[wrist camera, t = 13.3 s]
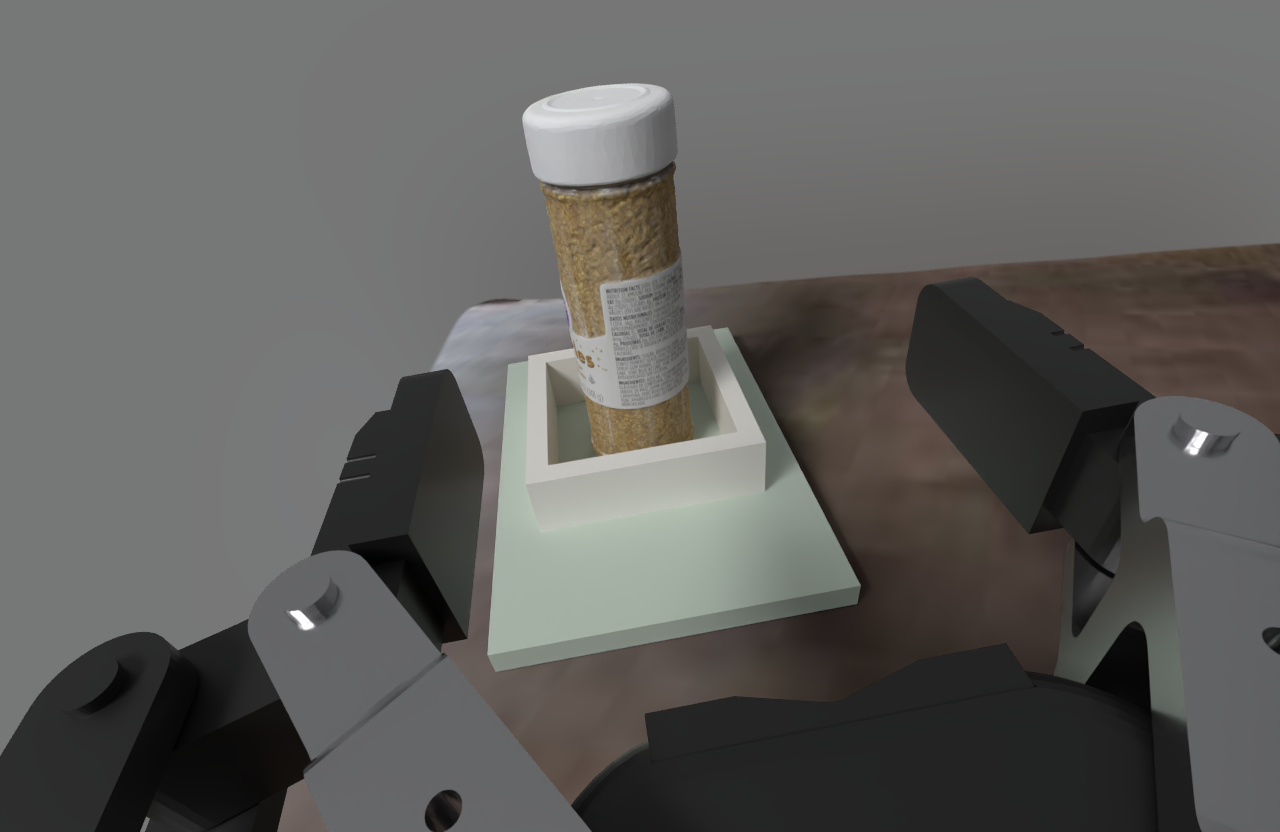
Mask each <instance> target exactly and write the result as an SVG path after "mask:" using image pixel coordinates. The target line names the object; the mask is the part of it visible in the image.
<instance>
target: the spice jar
mask: <svg viewBox="0 0 1280 832" xmlns="http://www.w3.org/2000/svg"><path fill="white" fill-rule="evenodd" d="M523 127H524V132H525V137H526V142H527V148H528V152H529V157H530V161H531V166H532V170H533V173H534V175H535V176H536V177H537V178H538V179H540V181H541V185H540V189H541V190H542V192H543V193H544V196H545V203H546V207H547V213H548V217H549V221H550V229H551V232H552V235H553V243H554V249H555V252H556V257H557V262H558V268H559V271H560V282H561V289H562V294H563V299H564V304H565V309H566V314H567V319H568V324H569V329H570V335H571V339H572V344H573V348H574V353H575V358H576V364H577V369H578V374H579V379H580V384H581V387H582V390H583V391H584V395H585V400H586V407H587V411H588V415H589V420H590V426H591V436H590V438H591V445H592V447H593V450H594V452H595V453H596V455H597V456H598V457H599V456H605V455H610V454H616V453H622V452H627V451H633V450H639V449H644V448H650V447H656V446H661V445H667V444H673V443H679V442H684V441H690V440H693V439H694V433H695V430H694V424H693V421H692V418H691V416H690V408H689V388H688V378H689V363H688V346H687V328H686V314H685V299H684V286H683V272H682V257H681V250H680V247H679V240H678V224H677V212H676V200H675V186H674V180H673V174H674V172H675V170H676V165H675V162H674V161H673V160H674V159H675V157H676V155H677V134H676V122H675V111H674V103H673V97H672V95H671V94H670V93H669V91H667V90H666V89H664V88H662V87H659V86H655V85H650V84H613V85H603V86H595V87H588V88H583V89H578V90H573V91H568V92H564V93H560V94H557V95H553V96H550V97H547V98H544V99H542V100H540V101H538V102H536V103H534V104H532V105H531V106H529V107H528V108H527V110H526V111H525V112H524V115H523Z"/></svg>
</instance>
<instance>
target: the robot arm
mask: <svg viewBox="0 0 1280 832" xmlns="http://www.w3.org/2000/svg"><path fill="white" fill-rule="evenodd" d="M906 377H907V382H908V385H909V388H910V390H911V392H912V394H913V396H914V397H915V398H916V399H917V401H918V402H919V403H920V404H921V405H922V407H923V408H924V409H925V410H926V411H927V413H928V414H929V415H930V416H931V417H932V419H933V420H934V421H935V422H936V423H937V425H938V426H939V427H940V428H941V429H942V431H943V432H944V433H945V434H946V435H947V437H948V438H949V439H950V440H951V441H952V443H953V444H954V445H955V446H956V447H957V449H958V450H959V451H960V452H961V453H962V455H963V456H964V457H965V458H966V460H967V461H968V462H969V463H970V464H971V466H972V467H973V468H974V469H975V470H976V472H977V473H978V474H979V475H980V476H981V478H982V479H983V480H984V481H985V482H986V484H987V485H988V486H989V487H990V488H991V490H992V491H993V492H994V493H995V494H996V496H997V497H998V498H999V499H1000V500H1001V502H1002V503H1003V504H1004V505H1005V506H1006V508H1007V509H1008V510H1009V511H1010V512H1011V514H1012V515H1013V516H1014V517H1015V518H1016V520H1017V521H1018V522H1019V523H1020V524H1021V526H1022V527H1023V528H1024V529H1025V530H1026V532H1027V533H1028V534H1033V533H1038V532H1043V531H1048V530H1054V529H1059V528H1064V529H1065V530H1066V531H1067V532H1068V533H1069V534H1070V535H1071V538H1070V540H1069V542H1068V544H1067V546H1066V548H1065V552H1064V565H1063V585H1062V604H1061V623H1060V642H1059V654H1058V659H1057V664H1056V668H1055V671H1054V674H1053V676H1052V675H1047V674H1041V673H1035V672H1028V671H1024V670H1023V668H1022V667H1021V665H1020V664H1019V662H1018V661H1017V659H1016V658H1015V656H1014V655H1013V653H1012V652H1011V650H1010V649H1009V647H1008V646H1007V644H1006V643H1005V644H999V645H994V646H989V647H984V648H979V649H974V650H969V651H964V652H958V653H953V654H948V655H943V656H938V657H933V658H928V659H923V660H918V661H916V662H914V663H912V664H910V665H908V666H907V667H905V668H903V669H901V670H899V671H897V672H895V673H893V674H891V675H889V676H887V677H886V678H884V679H882V680H880V681H878V682H876V683H874V684H872V685H870V686H868V687H866V688H865V689H863V690H861V691H859V692H857V693H855V694H853V695H851V696H849V697H847V698H845V699H843V700H840V701H837V702H812V701H797V700H782V699H767V698H752V697H738V696H733V697H728V698H723V699H718V700H713V701H708V702H703V703H698V704H692V705H687V706H682V707H677V708H672V709H667V710H662V711H657V712H651V713H646V714H645V721H646V728H647V735H648V741H646V742H644V743H642V744H640V745H638V746H636V747H635V748H633V749H631V750H629V751H628V752H626V753H625V754H624V755H622V756H621V757H619V758H618V759H616V760H615V761H613V762H612V763H611V764H610V765H609V766H607V767H606V768H605V769H604V770H603V771H602V772H601V773H600V774H598V775H597V776H596V777H595V778H594V779H593V780H592V781H591V782H590V783H589V785H588V786H587V787H586V788H585V789H584V790H583V791H582V792H581V794H580V795H579V796H578V797H577V798H576V800H575V801H574V802H573V804H572V805H571V806H570V804H569V803H568V802H567V801H566V800H565V798H564V797H563V796H562V795H561V793H560V792H559V791H558V790H557V789H556V787H555V786H554V785H553V784H552V782H551V781H550V780H549V779H548V777H547V776H546V775H545V774H544V773H543V771H542V770H541V769H540V768H539V766H538V765H537V764H536V763H535V762H534V760H533V759H532V758H531V757H530V755H529V754H528V753H527V752H526V751H525V749H524V748H523V747H522V746H521V744H520V743H519V742H518V741H517V740H516V738H515V737H514V736H513V735H512V733H511V732H510V731H509V730H508V728H507V727H506V726H505V725H504V724H503V722H502V721H501V720H500V719H499V717H498V716H497V715H496V714H495V713H494V711H493V710H492V709H491V708H490V706H489V705H488V704H487V703H486V702H485V700H484V699H483V698H482V697H481V695H480V694H479V693H478V692H477V691H476V689H475V688H474V687H473V686H472V684H471V683H470V682H469V681H468V679H467V678H466V677H465V676H464V675H463V673H462V672H461V671H460V670H459V669H458V667H457V666H456V665H455V664H454V663H453V661H452V660H451V659H450V658H449V657H448V656H447V655H446V654H445V653H443V654H441V647H442V644H443V643H448V642H453V641H459V640H464V639H467V637H468V627H469V617H470V608H471V598H472V588H473V578H474V568H475V558H476V549H477V539H478V529H479V519H480V509H481V499H482V489H483V480H484V461H483V454H482V449H481V445H480V441H479V438H478V436H477V433H476V430H475V428H474V425H473V423H472V420H471V418H470V415H469V413H468V410H467V407H466V405H465V402H464V400H463V397H462V395H461V392H460V390H459V387H458V384H457V382H456V380H455V377H454V376H453V374H452V372H451V371H450V370H448V369H445V370H440V371H434V372H428V373H423V374H417V375H412V376H406V377H403V378H401V380H400V382H399V385H398V388H397V391H396V394H395V397H394V400H393V404H392V407H391V410H386V411H381V412H376V413H375V414H374V415H373V416H372V417H371V418H370V420H369V421H368V422H367V423H366V424H365V425H364V426H363V427H362V428H361V429H360V431H359V432H358V433H357V434H356V435H355V438H354V441H353V443H352V446H351V449H350V451H349V454H348V457H347V462H348V463H345V465H344V468H343V470H342V473H341V476H340V478H339V479H340V483H339V484H337V487H336V489H335V492H334V494H333V497H332V500H331V503H330V505H329V508H328V510H327V513H326V516H325V518H324V521H323V524H322V526H321V529H320V532H319V535H318V537H317V540H316V543H315V545H314V548H313V551H312V554H311V556H310V557H308V558H306V559H304V560H301V561H299V562H298V563H296V564H294V565H293V566H291V567H289V568H288V569H286V570H285V571H284V572H282V573H281V574H280V575H279V576H277V577H276V578H275V579H274V580H273V581H272V582H271V583H270V584H269V585H268V586H267V587H266V588H265V589H264V591H263V592H262V593H261V595H260V596H259V597H258V599H257V601H256V602H255V604H254V606H253V608H252V610H251V613H250V616H249V619H247V620H245V621H243V622H241V623H239V624H237V625H234V626H232V627H230V628H228V629H225V630H223V631H221V632H219V633H216V634H214V635H212V636H210V637H207V638H205V639H203V640H201V641H199V642H196V643H194V644H192V645H189V646H187V647H185V648H183V649H180V650H177V649H176V648H174V647H173V646H172V645H171V644H170V643H169V642H167V641H166V640H165V639H164V638H163V637H161V636H159V635H157V634H155V633H150V632H137V633H131V634H126V635H123V636H120V637H117V638H114V639H112V640H110V641H107V642H105V643H103V644H101V645H99V646H97V647H95V648H93V649H92V650H90V651H88V652H87V653H85V654H84V655H82V656H81V657H79V658H78V659H76V660H75V661H74V662H72V663H71V664H70V665H68V666H67V667H66V668H65V669H64V670H63V671H61V672H60V673H59V674H58V675H57V676H56V677H55V678H54V679H53V680H52V681H51V682H50V683H49V684H48V685H47V686H46V687H45V688H44V689H43V691H42V692H41V693H40V694H39V696H38V697H37V698H36V700H35V701H34V702H33V704H32V705H31V707H30V708H29V710H28V712H27V713H26V715H25V717H24V718H23V720H22V722H21V723H20V725H19V726H18V728H17V730H16V731H15V733H14V735H13V736H12V738H11V739H10V741H9V743H8V744H7V746H6V748H5V749H4V751H3V753H2V754H1V756H0V832H140V830H141V828H142V825H143V822H144V820H145V818H146V817H148V818H150V820H149V823H148V826H147V828H146V831H145V832H277V829H278V825H279V821H280V817H281V813H282V809H283V805H284V801H285V797H286V793H287V788H288V787H289V786H291V785H293V784H295V783H297V782H299V781H300V780H302V779H304V778H305V781H306V784H307V787H308V789H309V791H310V794H311V796H312V798H313V800H314V802H315V804H316V806H317V808H318V810H319V812H320V815H321V817H322V819H323V821H324V823H325V825H326V827H327V829H328V831H329V832H1280V434H1273V433H1272V431H1270V430H1269V429H1268V428H1267V427H1266V426H1265V425H1263V424H1262V423H1261V422H1259V421H1258V420H1256V419H1255V418H1253V417H1251V416H1249V415H1247V414H1246V413H1243V412H1241V411H1239V410H1237V409H1235V408H1232V407H1229V406H1226V405H1224V404H1220V403H1217V402H1213V401H1209V400H1205V399H1200V398H1193V397H1183V396H1167V397H1159V398H1156V397H1155V396H1153V395H1152V394H1151V393H1149V392H1148V391H1147V390H1145V389H1144V388H1142V387H1141V386H1140V385H1138V384H1137V383H1136V382H1134V381H1133V380H1131V379H1130V378H1129V377H1127V376H1126V375H1125V374H1123V373H1122V372H1121V371H1119V370H1118V369H1116V368H1115V367H1114V366H1112V365H1111V364H1110V363H1108V362H1107V361H1106V360H1104V359H1103V358H1101V357H1100V356H1099V355H1097V354H1096V353H1095V352H1093V351H1092V350H1091V349H1089V348H1088V349H1084V344H1082V343H1081V342H1080V341H1078V340H1077V339H1076V338H1074V337H1073V336H1071V335H1070V334H1064V330H1063V329H1062V328H1061V327H1059V326H1058V325H1056V324H1055V323H1054V322H1052V321H1051V320H1050V319H1048V318H1047V317H1045V316H1044V315H1043V314H1041V313H1039V312H1037V311H1034V310H1032V309H1029V308H1027V307H1024V306H1022V305H1019V304H1017V303H1014V302H1012V301H1009V300H1006V299H1005V298H1003V297H1002V296H1001V295H999V294H998V293H997V292H995V291H994V290H993V289H991V288H990V287H989V286H987V285H986V284H985V283H983V282H982V281H981V280H979V279H978V278H975V277H969V278H963V279H958V280H952V281H946V282H941V283H935V284H930V285H927V286H925V287H924V288H923V289H922V290H921V292H920V294H919V297H918V301H917V306H916V312H915V317H914V322H913V328H912V333H911V338H910V343H909V349H908V354H907V359H906Z"/></svg>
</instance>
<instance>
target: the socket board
mask: <svg viewBox="0 0 1280 832" xmlns="http://www.w3.org/2000/svg"><path fill="white" fill-rule="evenodd" d="M687 346H688V363H689V378H688V388H689V408H690V416H691V418H692V421H693V424H694V430H695V433H694V439H693V440H690V441H684V442H679V443H673V444H667V445H661V446H656V447H650V448H644V449H639V450H633V451H627V452H622V453H616V454H610V455H605V456H599V457H598V456H597V455H596V453H595V452H594V450H593V447H592V445H591V438H590V436H591V426H590V420H589V415H588V411H587V407H586V400H585V395H584V391H583V390H582V387H581V384H580V379H579V374H578V369H577V364H576V358H575V353H574V348H573V349H567V350H561V351H555V352H549V353H543V354H537V355H531V356H528V361H526V362H520V363H514V364H508V376H507V390H506V404H505V418H504V432H503V446H502V460H501V474H500V488H499V502H498V516H497V530H496V544H495V557H494V571H493V585H492V599H491V613H490V627H489V641H488V657H489V659H490V661H491V663H492V665H493V667H494V669H495V671H496V672H498V671H503V670H509V669H514V668H519V667H525V666H530V665H535V664H541V663H546V662H551V661H557V660H562V659H567V658H573V657H578V656H583V655H588V654H594V653H599V652H604V651H610V650H615V649H620V648H626V647H631V646H636V645H642V644H647V643H652V642H658V641H663V640H668V639H673V638H679V637H684V636H689V635H695V634H700V633H705V632H711V631H716V630H721V629H727V628H732V627H737V626H743V625H748V624H753V623H758V622H764V621H769V620H774V619H780V618H785V617H790V616H796V615H801V614H806V613H812V612H817V611H822V610H828V609H833V608H838V607H843V606H849V605H854V604H857V603H858V598H859V592H860V587H861V585H860V583H859V581H858V579H857V577H856V575H855V573H854V571H853V569H852V568H851V566H850V564H849V562H848V560H847V558H846V556H845V554H844V552H843V550H842V548H841V546H840V544H839V542H838V540H837V538H836V536H835V535H834V533H833V531H832V529H831V527H830V525H829V523H828V521H827V519H826V517H825V515H824V513H823V511H822V509H821V507H820V505H819V504H818V502H817V500H816V498H815V496H814V494H813V492H812V490H811V488H810V486H809V484H808V482H807V480H806V478H805V476H804V474H803V472H802V471H801V469H800V467H799V465H798V463H797V461H796V459H795V457H794V455H793V453H792V451H791V449H790V447H789V445H788V443H787V441H786V440H785V438H784V436H783V434H782V432H781V430H780V428H779V426H778V424H777V422H776V420H775V418H774V416H773V414H772V412H771V410H770V408H769V407H768V405H767V403H766V401H765V399H764V397H763V395H762V393H761V391H760V389H759V387H758V385H757V383H756V381H755V379H754V377H753V375H752V374H751V372H750V370H749V368H748V366H747V364H746V362H745V360H744V358H743V356H742V354H741V352H740V350H739V348H738V346H737V344H736V343H735V341H734V339H733V337H732V335H731V333H730V331H729V329H728V327H727V328H721V329H715V330H713V329H712V327H711V325H709V326H703V327H697V328H691V329H687Z"/></svg>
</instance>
